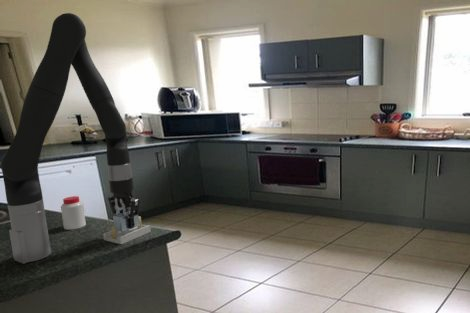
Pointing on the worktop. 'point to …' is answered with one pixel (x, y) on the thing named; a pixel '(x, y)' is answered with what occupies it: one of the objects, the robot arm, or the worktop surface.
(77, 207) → the pill bottle
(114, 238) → the white peg stand
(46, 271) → the worktop surface
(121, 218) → the block
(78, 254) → the worktop surface
